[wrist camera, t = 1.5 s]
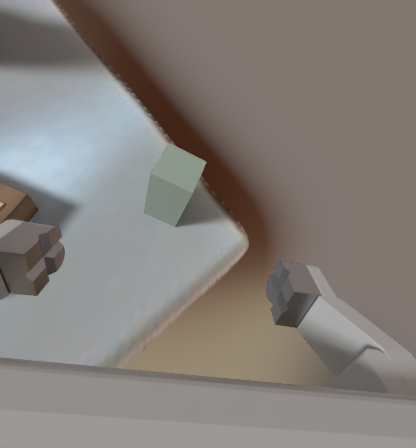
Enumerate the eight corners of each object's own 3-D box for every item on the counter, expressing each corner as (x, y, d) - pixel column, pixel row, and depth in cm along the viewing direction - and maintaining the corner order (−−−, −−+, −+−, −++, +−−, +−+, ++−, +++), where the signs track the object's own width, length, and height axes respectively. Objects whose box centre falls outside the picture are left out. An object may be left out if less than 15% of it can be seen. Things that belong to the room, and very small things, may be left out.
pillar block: (143, 212, 33) (150, 173, 24) (157, 187, 35) (168, 142, 26) (175, 226, 34) (192, 193, 25) (186, 200, 36) (206, 161, 27)
